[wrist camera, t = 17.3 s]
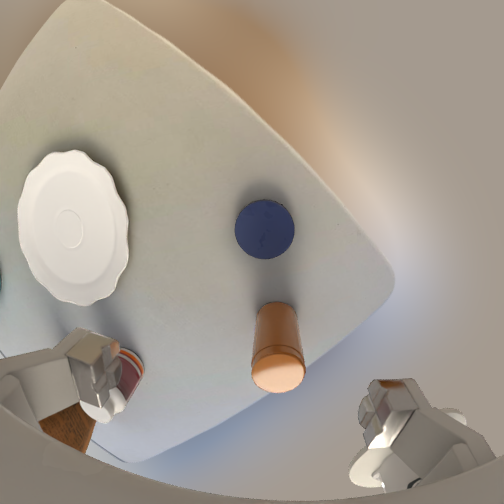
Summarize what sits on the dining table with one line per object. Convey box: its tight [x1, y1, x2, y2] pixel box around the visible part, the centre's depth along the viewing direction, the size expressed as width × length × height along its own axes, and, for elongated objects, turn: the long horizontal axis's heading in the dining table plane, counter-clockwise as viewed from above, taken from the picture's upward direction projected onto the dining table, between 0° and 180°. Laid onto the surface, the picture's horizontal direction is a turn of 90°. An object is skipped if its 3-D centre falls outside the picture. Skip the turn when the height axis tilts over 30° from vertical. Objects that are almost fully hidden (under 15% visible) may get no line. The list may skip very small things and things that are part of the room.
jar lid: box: [235, 199, 294, 259], centre depth 30 cm, size 6×6×2 cm
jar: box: [251, 302, 306, 393], centre depth 29 cm, size 5×5×10 cm
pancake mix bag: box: [38, 400, 96, 454], centre depth 26 cm, size 7×19×28 cm, turn 4°
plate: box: [17, 149, 129, 306], centre depth 32 cm, size 21×21×2 cm
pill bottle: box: [80, 348, 144, 423], centre depth 32 cm, size 6×6×11 cm
